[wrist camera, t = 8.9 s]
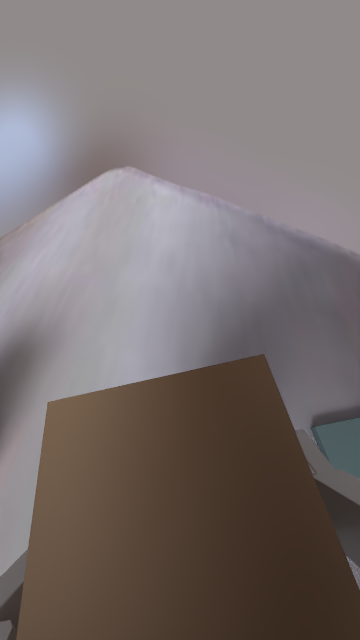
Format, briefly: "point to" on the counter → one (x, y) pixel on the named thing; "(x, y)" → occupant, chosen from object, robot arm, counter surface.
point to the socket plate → (340, 444)
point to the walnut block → (182, 518)
